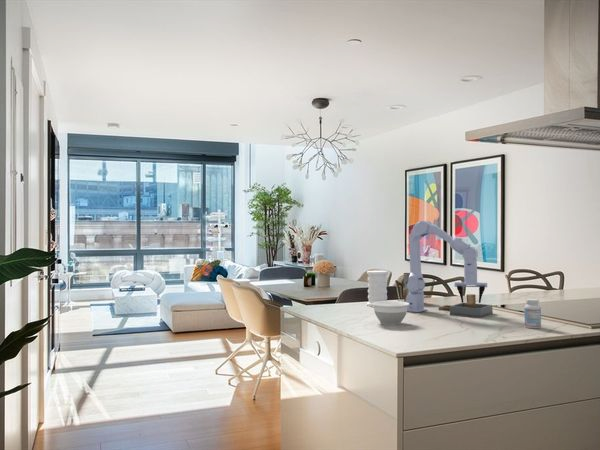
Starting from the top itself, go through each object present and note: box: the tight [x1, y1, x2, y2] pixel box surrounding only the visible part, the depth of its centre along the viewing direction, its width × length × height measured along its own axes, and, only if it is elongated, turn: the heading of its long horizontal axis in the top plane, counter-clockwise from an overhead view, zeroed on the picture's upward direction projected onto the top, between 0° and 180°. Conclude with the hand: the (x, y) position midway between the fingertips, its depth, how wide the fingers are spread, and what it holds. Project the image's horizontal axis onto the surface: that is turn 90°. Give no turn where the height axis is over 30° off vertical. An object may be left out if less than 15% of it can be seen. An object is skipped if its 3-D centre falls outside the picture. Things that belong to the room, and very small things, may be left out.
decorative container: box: [366, 270, 389, 307], centre depth 289 cm, size 12×12×18 cm
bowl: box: [372, 300, 409, 326], centre depth 234 cm, size 16×16×9 cm
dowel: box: [465, 293, 477, 308], centre depth 256 cm, size 4×4×8 cm
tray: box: [449, 302, 494, 319], centre depth 256 cm, size 15×15×4 cm
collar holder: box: [438, 304, 452, 312], centre depth 271 cm, size 8×8×2 cm
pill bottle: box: [523, 298, 542, 330], centre depth 220 cm, size 6×6×11 cm
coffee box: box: [403, 272, 410, 302], centre depth 298 cm, size 9×6×16 cm
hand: (471, 302), depth 256 cm, fingers open, 7 cm apart
